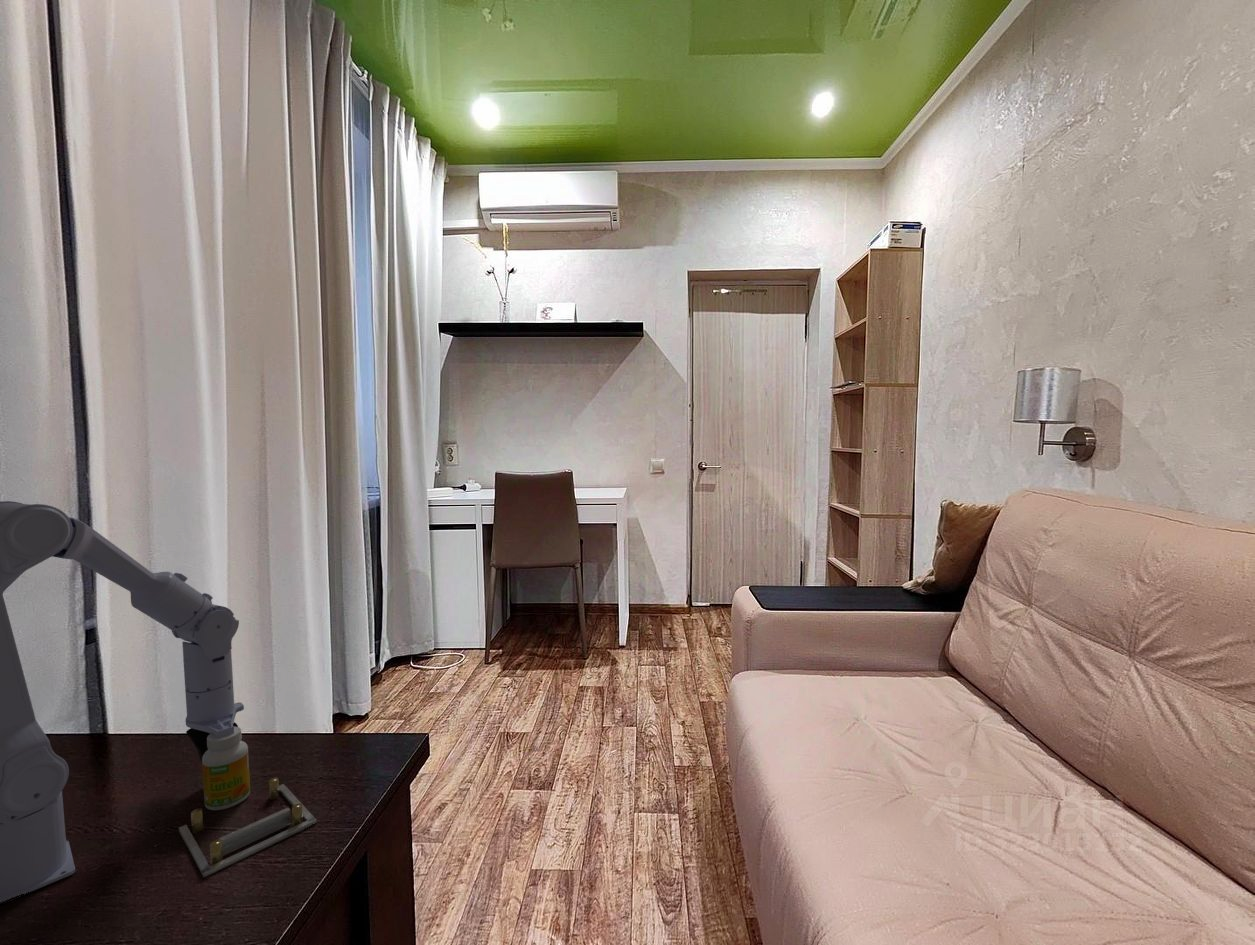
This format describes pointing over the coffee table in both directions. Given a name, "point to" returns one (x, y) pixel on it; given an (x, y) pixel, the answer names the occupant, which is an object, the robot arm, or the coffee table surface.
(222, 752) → the supplement bottle
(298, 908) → the coffee table surface
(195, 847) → the frame
